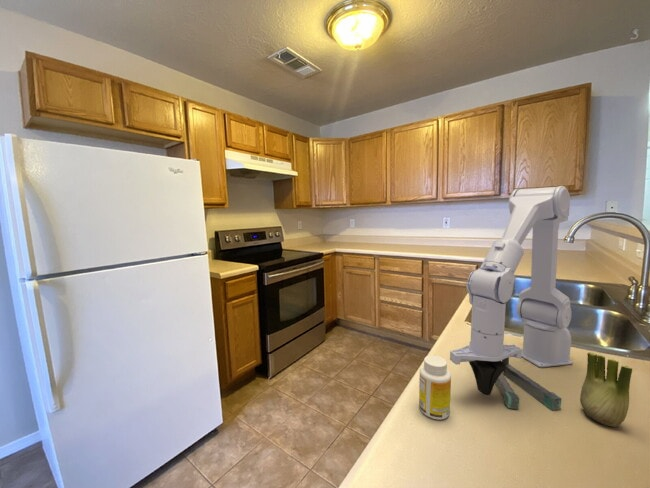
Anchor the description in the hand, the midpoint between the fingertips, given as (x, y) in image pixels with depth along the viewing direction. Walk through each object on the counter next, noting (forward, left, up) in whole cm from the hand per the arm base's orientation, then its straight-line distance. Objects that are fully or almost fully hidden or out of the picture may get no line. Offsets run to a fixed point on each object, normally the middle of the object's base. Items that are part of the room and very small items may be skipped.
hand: (483, 392), depth 57 cm
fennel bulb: (-16, +9, -1) cm, 19 cm away
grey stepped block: (-9, -8, -1) cm, 13 cm away
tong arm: (-5, -1, -1) cm, 5 cm away
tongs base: (-10, -2, -1) cm, 10 cm away
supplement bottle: (+12, +2, -1) cm, 12 cm away
